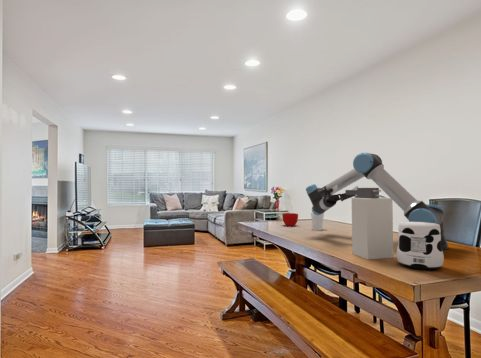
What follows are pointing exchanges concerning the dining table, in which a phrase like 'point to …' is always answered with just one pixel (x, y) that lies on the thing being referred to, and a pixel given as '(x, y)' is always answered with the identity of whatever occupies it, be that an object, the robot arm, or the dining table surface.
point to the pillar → (372, 227)
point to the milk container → (420, 245)
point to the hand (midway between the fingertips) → (347, 187)
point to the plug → (364, 192)
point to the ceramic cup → (290, 219)
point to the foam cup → (317, 221)
